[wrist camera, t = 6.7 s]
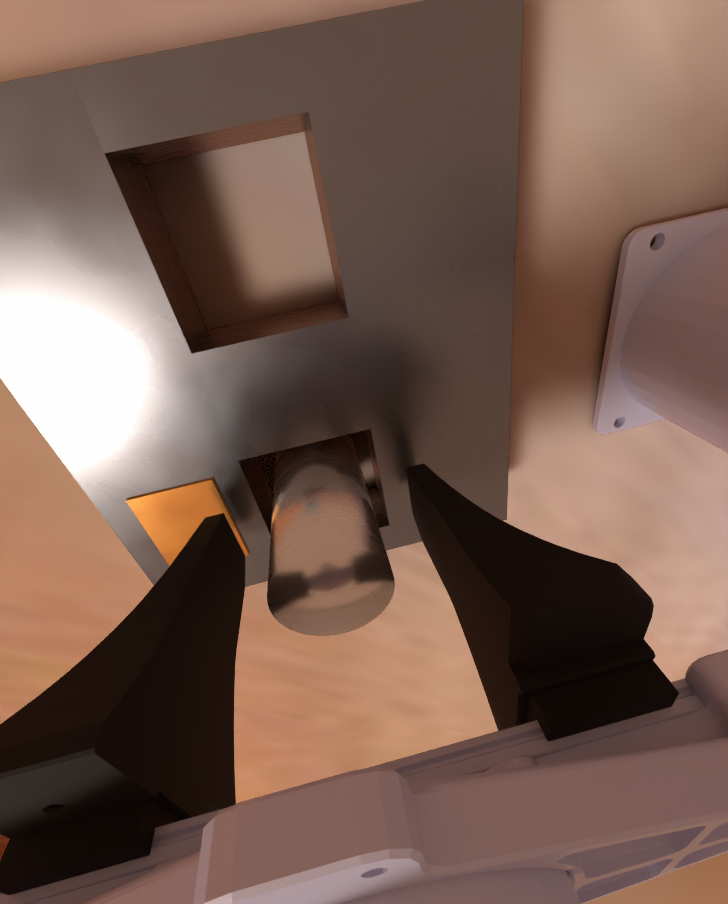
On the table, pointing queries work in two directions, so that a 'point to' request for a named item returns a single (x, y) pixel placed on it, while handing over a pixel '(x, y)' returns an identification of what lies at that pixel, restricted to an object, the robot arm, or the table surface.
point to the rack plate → (286, 334)
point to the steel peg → (325, 542)
